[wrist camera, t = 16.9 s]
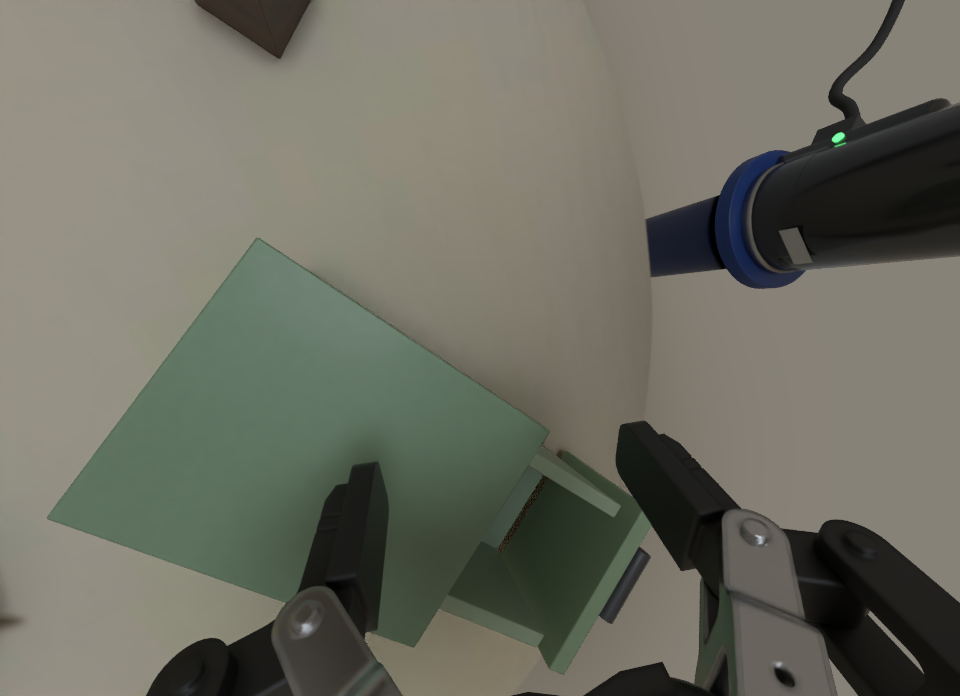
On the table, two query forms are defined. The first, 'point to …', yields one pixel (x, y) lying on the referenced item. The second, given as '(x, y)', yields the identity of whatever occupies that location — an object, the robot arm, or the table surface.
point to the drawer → (555, 560)
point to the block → (260, 19)
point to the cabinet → (302, 445)
